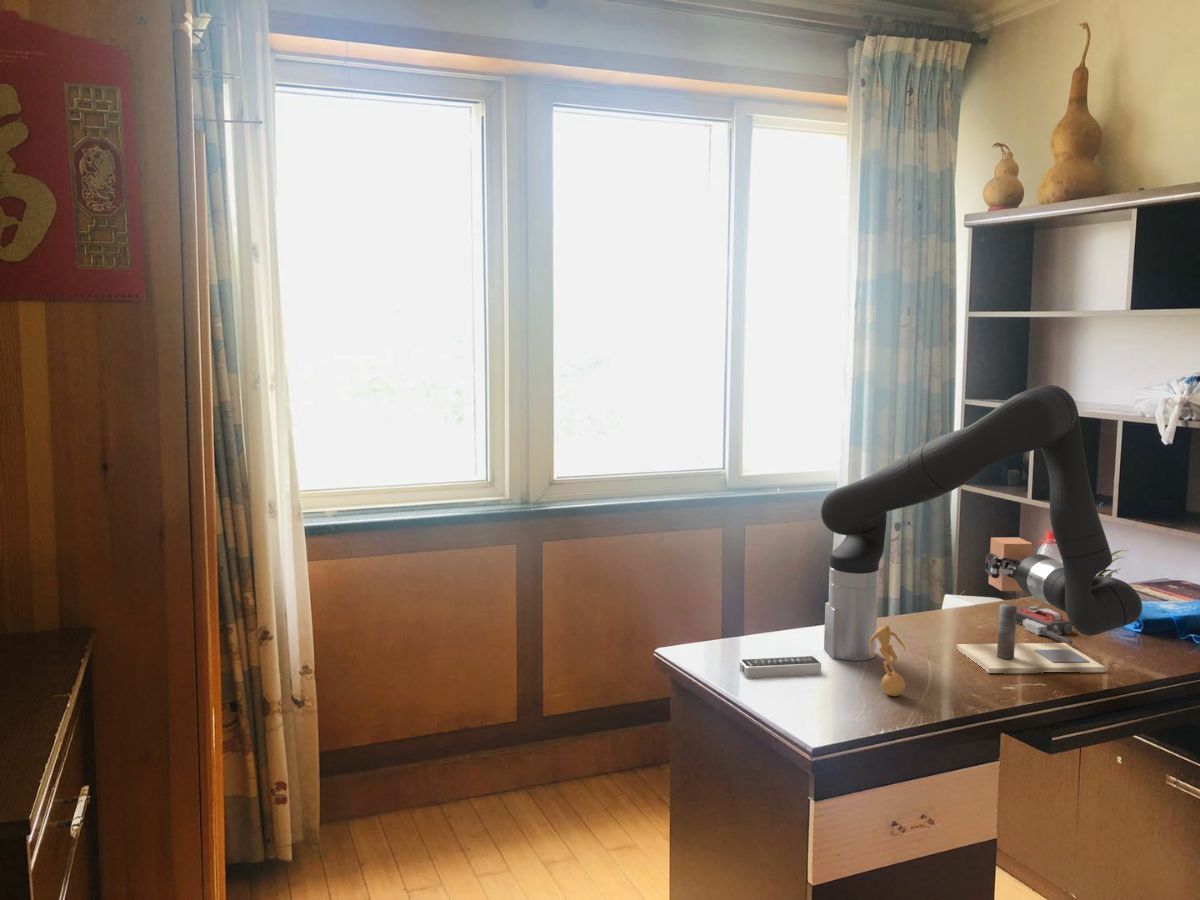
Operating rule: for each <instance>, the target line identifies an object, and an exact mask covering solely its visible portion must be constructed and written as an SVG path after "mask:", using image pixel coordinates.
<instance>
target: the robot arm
mask: <svg viewBox="0 0 1200 900" xmlns="http://www.w3.org/2000/svg"><path fill="white" fill-rule="evenodd" d="M1037 450H1041V452H1042V456H1043V458H1044V460H1045V464H1046V468H1047V473H1048V480H1049V515H1050V516H1049V517H1050V525H1051V530H1052V533H1053V537H1054V540H1055V543H1056V546H1057V550H1058V553H1059V555H1060V557H1061V558H1060V559H1061V561H1062V562H1061V561H1059V560H1057V559H1054V558H1053V557H1050V556H1048V555H1046V554H1041V553H1039V554H1038V553H1037V554H1036V553H1035V554H1032V555H1031V556H1029V557H1027V558H1025V559H1015V558H1011V557H1004V558H1001V557H998V556H996V555H994V554H992V553H990V552H988V553H987V554H986V555H985V562H984V563H985V568H984V571H985V572H986V574H988V576H989V575H990V576H991V577H993V578H999V576H1000V574H1002V575H1003V576H1007V577H1010V578H1013V579H1014V580H1016V581H1017V583H1018V585H1019V586H1020V588H1021V589H1022V590H1023V591H1022V592H1024V593H1026V594H1028V595H1029V596H1031V597H1033V598H1035V599H1036V600H1039V601H1040V602H1042V603H1044V604H1047V605H1049V606H1052V607H1055V608H1056V609H1059V610H1060V611H1061V612H1064V613H1066V616H1067V620H1068V621H1070V623H1071V624H1072V628H1074V629H1075V630H1076V631H1077V632H1078V633H1080V634H1082V635H1083V636H1088V637H1089V636H1091V637H1092V636H1096V635H1100V634H1102V633H1106V632H1110V631H1112V630H1116V629H1119V628H1122V627H1126V626H1129V625H1131V624H1133V623H1135V622H1136V621H1137V620H1139V618H1140V617H1141V615H1142V612H1143V602H1142V598H1141V596H1140V595H1139V594H1138V592H1137V591H1136V590H1135V589H1134V588H1133V586H1131V585H1130V584H1129V583H1127V582H1125V581H1124V580H1121V579H1118V578H1115V577H1113V576H1111V577H1105V576H1106V575H1104V576H1097V575H1098V574H1099V573H1100V572H1101V571H1103V570H1104V569H1105V570H1107V569H1108V568H1109V567H1110V566H1111V565H1112V563H1113V562H1112V560H1113V556H1112V555H1111V554H1112V552H1111V548H1110V546H1109V542H1108V539H1107V537H1106V534H1105V531H1104V530H1105V529H1104V527H1103V525H1102V522H1101V519H1100V516H1099V513H1098V509H1097V506H1096V505H1097V504H1096V502H1095V499H1094V493H1093V489H1092V486H1091V480H1090V476H1089V470H1088V466H1087V465H1088V464H1087V461H1086V454H1085V453H1086V452H1085V448H1084V441H1083V435H1082V428H1081V421H1080V415H1079V411H1078V407H1077V404H1076V401H1075V400H1074V398H1073V396H1072V395H1071V394H1070V393H1069V392H1068V391H1067V390H1065V389H1064V388H1062V387H1060V386H1059V385H1058V386H1057V385H1054V384H1044V385H1039V386H1036V387H1033V388H1030V389H1027V390H1024V391H1021V392H1019V393H1016V394H1015V395H1013V396H1011V397H1010V398H1008V399H1007V400H1006V401H1004V402H1003V403H1001V404H1000V405H999V406H997V407H996V408H994V409H992V411H990V412H989V413H987V414H986V415H984V416H983V417H981V418H980V419H978V420H976V421H975V422H974V423H971V424H970V425H968V426H965V427H963V428H961V429H958V430H955V431H951V432H949V433H946V434H944V435H941V436H938V437H936V438H935V439H932V440H930V441H928V442H926V443H924V444H923V445H920V446H919V447H917V448H915V449H913V450H911V451H910V452H908V453H907V454H905V455H903V456H901V457H899V458H898V459H895V460H894V461H892V462H890V463H889V464H887V465H886V466H884V467H882V468H881V469H878V471H876V472H874V473H873V474H871V475H868V476H867V477H865V478H862V479H859V480H857V481H855V482H851V483H849V484H846V485H844V486H841V487H838V488H835V489H833V490H831V491H830V492H829V494H827V495H826V497H825V498H824V501H823V502H822V505H821V510H820V515H821V520H822V522H823V524H824V526H825V527H826V528H827V529H828V530H829V531H830V532H833V533H834V534H837V535H841V536H842V535H843V536H844V539H843V541H842V542H841V543H840V544H839V545H838V546H837V547H836V548H835V549H834V550H832V551H831V553H830V556H829V575H828V577H829V578H828V579H829V581H828V601H826V602H825V603H824V605H825V607H824V631H823V632H824V633H823V634H824V635H823V636H824V638H823V649H824V650H825V652H826V653H827V654H828V655H829V656H830V657H831V659H841V660H845V661H856V662H857V661H859V662H860V661H868V660H872V659H873V658H875V657H876V652H877V651H876V649H877V638H876V639H874V640H873V644H872V645H873V651H872V652H873V653H874V654H875V655H874V654H873V655H874V657H873V658H872V656H870V642H869V640H870V638H871V637H872V636H873V635H874V634H875V633H876V629H877V628H878V627H877V625H878V622H877V620H878V598H879V577H880V576H879V574H880V572H879V571H880V561H881V559H882V557H883V554H884V552H885V551H884V550H885V541H886V529H887V528H886V527H887V519H888V516H887V515H888V514H887V513H888V512H890V511H895V510H899V509H903V508H906V507H911V506H914V505H918V504H921V503H926V502H927V501H931V500H934V499H936V498H939V497H941V496H943V495H946V494H948V493H950V492H952V491H954V490H956V489H957V488H960V487H962V486H963V485H965V484H966V483H969V482H970V481H971V480H972V479H974V478H976V477H977V476H978V475H979V474H980V473H982V472H984V470H986V469H987V468H988V467H991V466H992V465H995V464H997V463H999V462H1003V461H1005V460H1007V459H1010V458H1013V457H1017V456H1019V455H1022V454H1025V453H1029V452H1032V451H1037ZM1000 562H1002V567H1000V564H1001V563H1000ZM1010 562H1012V563H1010Z"/></svg>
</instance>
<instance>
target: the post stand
mask: <svg viewBox="0 0 1200 900" xmlns="http://www.w3.org/2000/svg"><path fill="white" fill-rule="evenodd" d="M1017 608H1018V607H1017V606H1016V605H1014V604H1008V603H1007V604H1006V603H1003V604H1002V603H1001V604H1000V605H999V610H998V612H999V613H998V630H997V632H998V633H997V643H962V644H961V643H959V644H958V643H957V644H956V650H957V649H958V650H957V651H959V652H960V653H961V652H962V653H961V654H962V655H964V654H965V655H966V656H967V657H966V656H965V655H964V656H965V657H966V658H968V657H969V658H970V659H971V660H970V659H969V658H968V659H969V660H970V661H972V660H973V661H974V662H975V663H977V664H978V665H979V666H981V667H982V668H983V669H985V670H986V671H987V672H988V673H1004V674H1044V673H1043V672H1080V673H1105V672H1106V667H1105V666H1104V665H1102V664H1100V662H1098V661H1096V660H1094V659H1093V658H1091V657H1090V656H1087V655H1086V654H1084V653H1083V652H1080V651H1079V650H1078V649H1076V648H1074V647H1072V646H1071V645H1070V644H1067V642H1040V643H1039V642H1038V643H1037V642H1036V643H1035V642H1034V643H1030V642H1027V643H1016V628H1017V626H1016V625H1017V623H1016V612H1017ZM973 661H972V662H973ZM974 662H973V663H974ZM977 664H976V665H977ZM978 665H977V666H978ZM979 666H978V667H979ZM981 667H980V668H981ZM982 668H981V669H982ZM983 669H982V670H983ZM986 671H985V672H986ZM987 672H986V673H987ZM1039 672H1041V673H1039ZM988 673H987V674H988Z"/></svg>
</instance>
